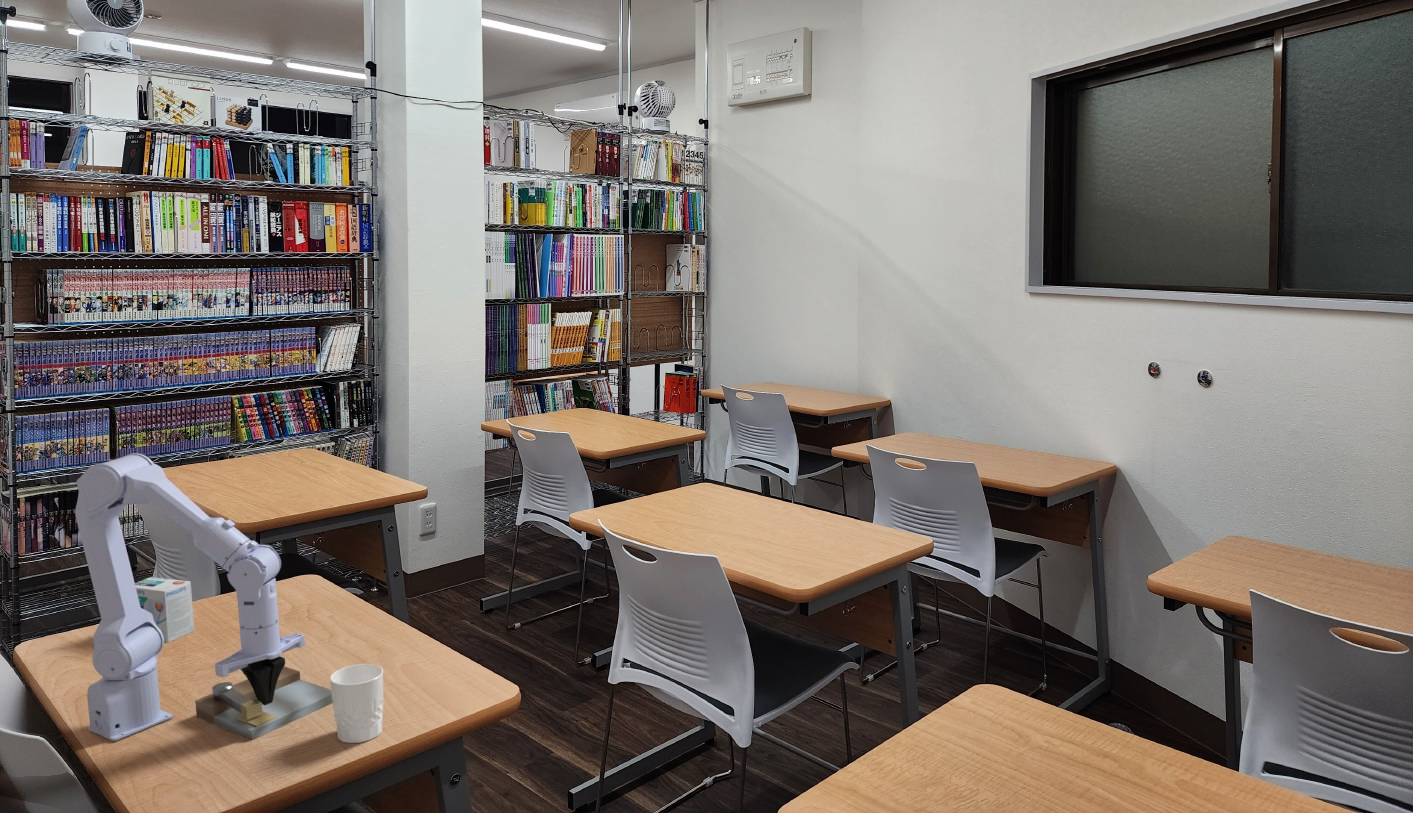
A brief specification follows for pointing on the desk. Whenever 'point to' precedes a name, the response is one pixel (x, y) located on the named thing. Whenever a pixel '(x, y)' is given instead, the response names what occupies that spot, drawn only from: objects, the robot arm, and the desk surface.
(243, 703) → the latch bar
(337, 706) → the white cup
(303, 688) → the door board
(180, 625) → the light bulb box
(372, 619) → the desk surface
